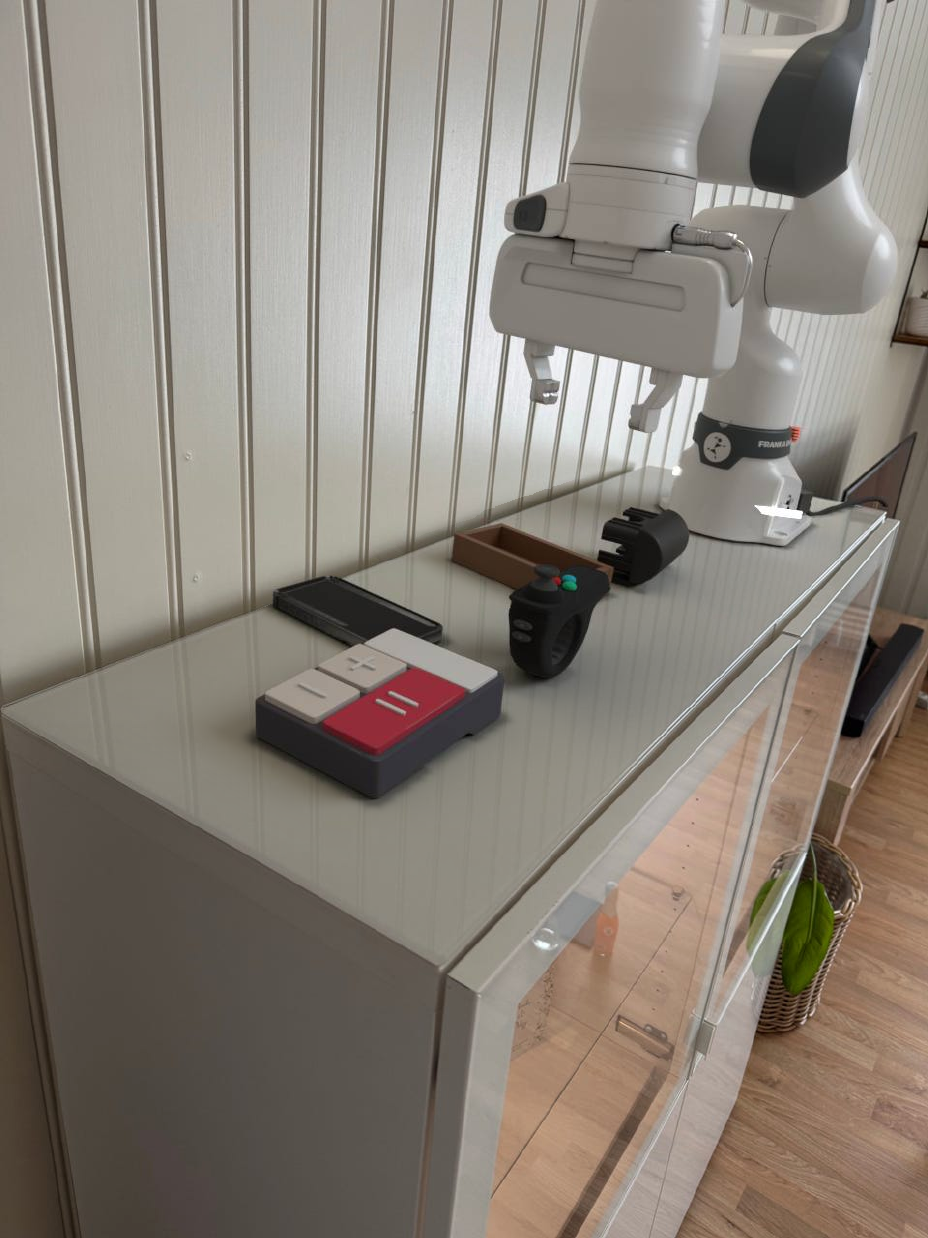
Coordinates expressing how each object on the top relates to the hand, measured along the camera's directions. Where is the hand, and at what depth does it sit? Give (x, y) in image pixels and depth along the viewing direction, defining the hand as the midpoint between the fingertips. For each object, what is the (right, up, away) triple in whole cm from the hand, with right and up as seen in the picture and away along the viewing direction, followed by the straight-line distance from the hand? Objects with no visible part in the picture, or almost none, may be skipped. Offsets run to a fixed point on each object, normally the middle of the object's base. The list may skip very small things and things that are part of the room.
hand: (590, 416), depth 70 cm
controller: (-2, -20, +9) cm, 22 cm away
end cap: (+10, -11, +33) cm, 36 cm away
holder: (-3, -11, +28) cm, 30 cm away
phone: (-19, -16, +13) cm, 28 cm away
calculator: (-15, -23, -3) cm, 28 cm away
